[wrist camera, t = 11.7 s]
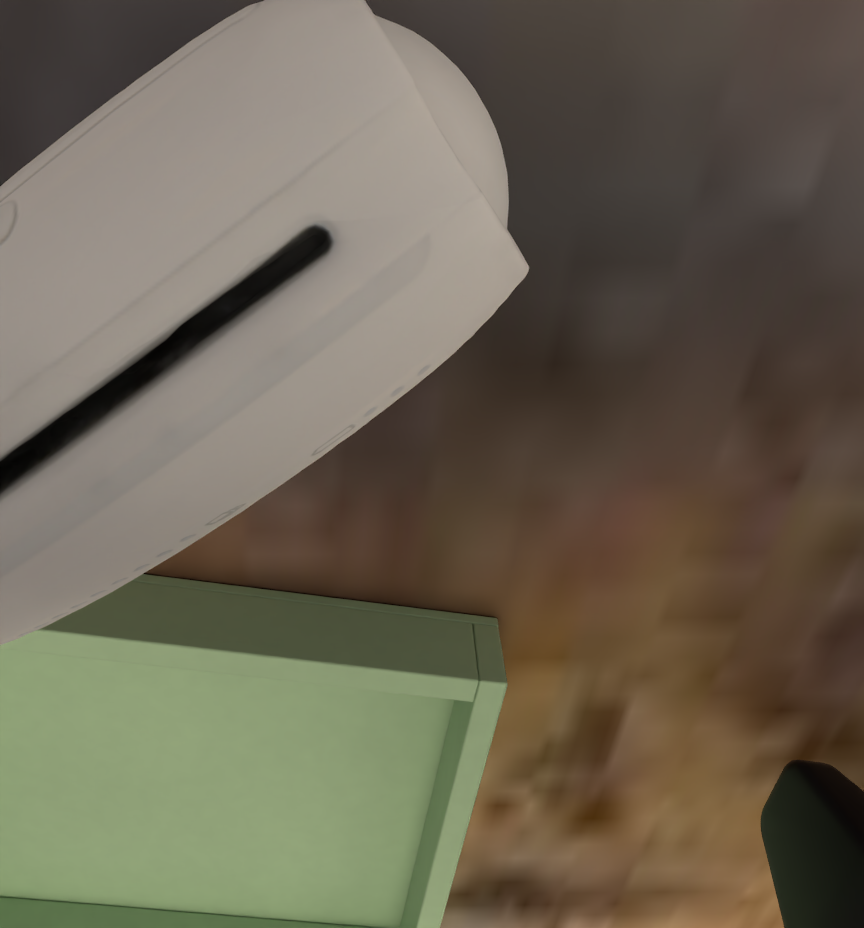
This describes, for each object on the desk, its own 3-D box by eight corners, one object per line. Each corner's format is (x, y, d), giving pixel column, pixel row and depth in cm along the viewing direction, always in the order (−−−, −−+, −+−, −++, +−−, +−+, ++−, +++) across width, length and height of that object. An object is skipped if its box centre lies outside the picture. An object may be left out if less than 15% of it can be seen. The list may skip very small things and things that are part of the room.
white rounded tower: (169, 414, 20) (-140, 825, 9) (46, 279, 18) (-531, 573, 7) (502, 179, 17) (661, 332, 6) (394, -2, 16) (352, -226, 5)
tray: (497, 617, 23) (508, 684, 20) (416, 932, 30) (416, 1013, 27) (-111, 542, 21) (-184, 604, 19) (-51, 893, 28) (-98, 975, 25)
